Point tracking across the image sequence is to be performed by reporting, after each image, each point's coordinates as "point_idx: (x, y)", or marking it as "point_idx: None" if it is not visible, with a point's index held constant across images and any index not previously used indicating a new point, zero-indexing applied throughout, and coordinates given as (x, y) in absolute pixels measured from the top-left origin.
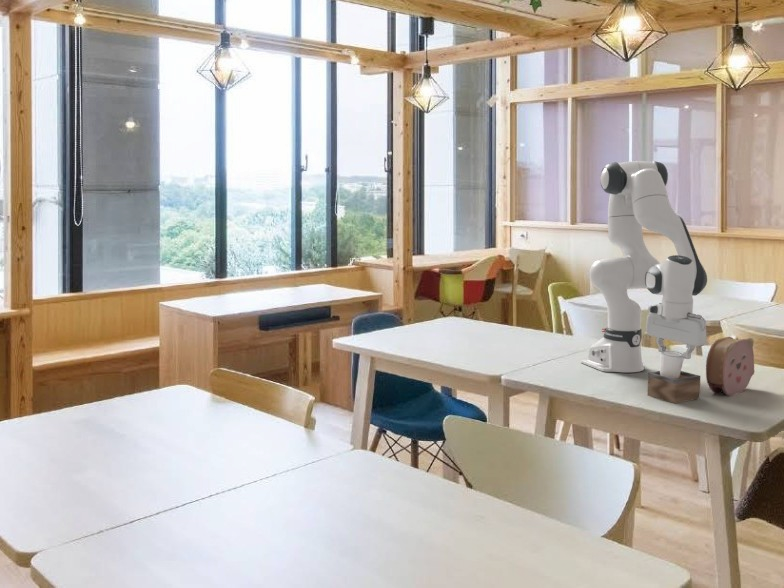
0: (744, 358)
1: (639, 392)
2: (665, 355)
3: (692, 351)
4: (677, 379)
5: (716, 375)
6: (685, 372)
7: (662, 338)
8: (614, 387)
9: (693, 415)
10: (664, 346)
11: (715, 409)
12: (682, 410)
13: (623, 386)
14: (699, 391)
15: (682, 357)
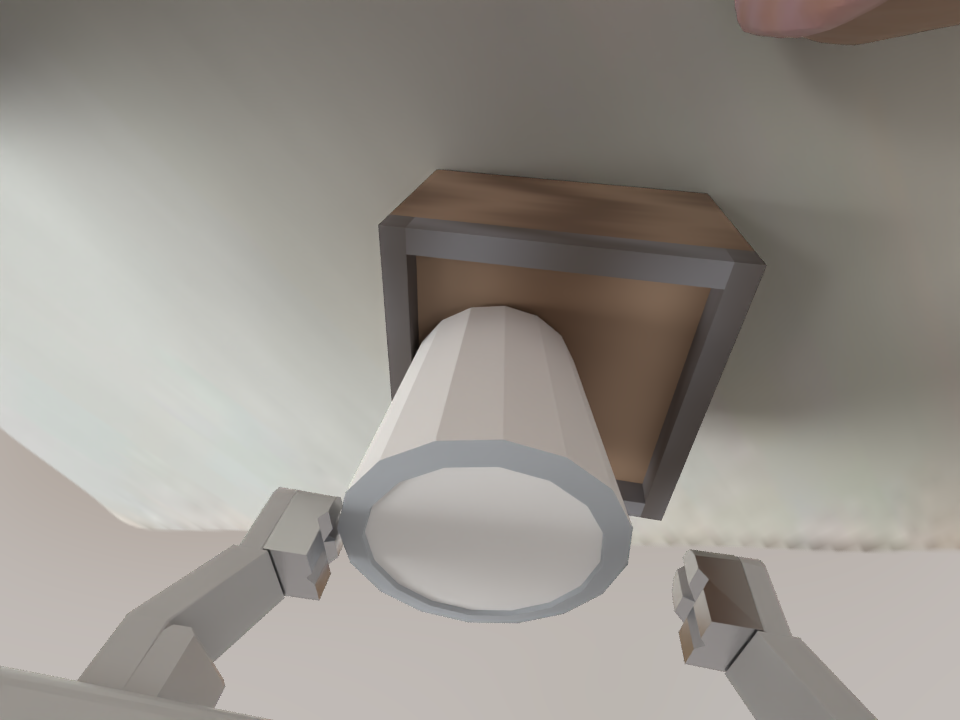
0: None
1: (373, 362)
2: (486, 621)
3: (827, 668)
4: (656, 499)
5: (945, 25)
6: (566, 262)
7: (188, 686)
8: (238, 374)
9: (825, 506)
10: (297, 566)
11: (915, 347)
12: (739, 476)
13: (233, 326)
14: (720, 212)
15: (628, 538)
